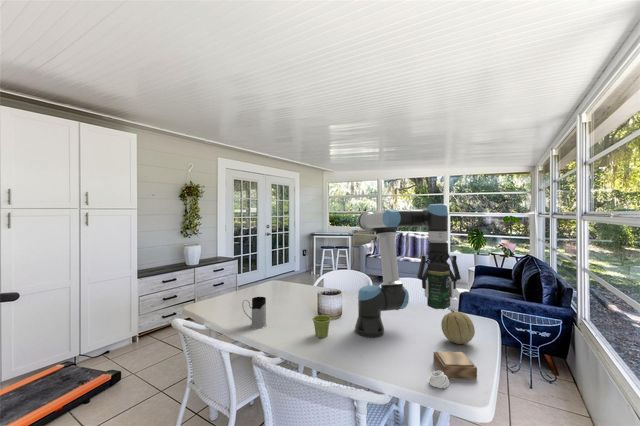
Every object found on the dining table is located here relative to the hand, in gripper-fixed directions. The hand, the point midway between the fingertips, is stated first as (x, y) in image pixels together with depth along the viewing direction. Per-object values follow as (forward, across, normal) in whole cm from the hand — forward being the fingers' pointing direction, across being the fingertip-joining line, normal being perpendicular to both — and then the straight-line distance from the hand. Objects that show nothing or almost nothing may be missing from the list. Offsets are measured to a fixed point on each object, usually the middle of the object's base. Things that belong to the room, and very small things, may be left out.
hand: (438, 296), depth 121 cm
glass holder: (+27, -88, +38) cm, 100 cm away
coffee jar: (+4, 0, 0) cm, 4 cm away
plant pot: (+28, -50, +27) cm, 63 cm away
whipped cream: (+29, -4, -12) cm, 32 cm away
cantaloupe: (+28, +16, +24) cm, 40 cm away
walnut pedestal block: (+28, +5, -2) cm, 29 cm away
